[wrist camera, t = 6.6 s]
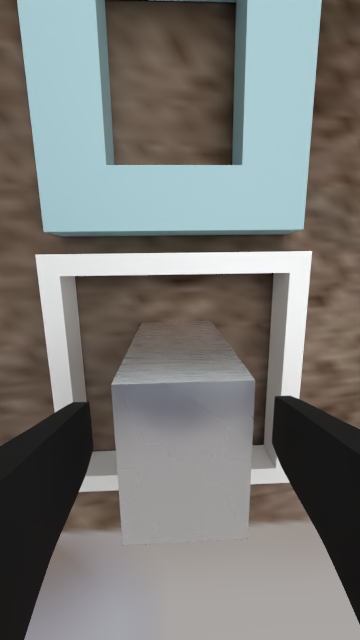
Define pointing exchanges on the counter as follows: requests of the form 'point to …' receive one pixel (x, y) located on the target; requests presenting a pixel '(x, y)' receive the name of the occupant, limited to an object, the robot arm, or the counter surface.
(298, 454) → the robot arm
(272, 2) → the pale blue window frame
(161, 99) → the counter surface
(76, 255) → the white square frame
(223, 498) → the billet
